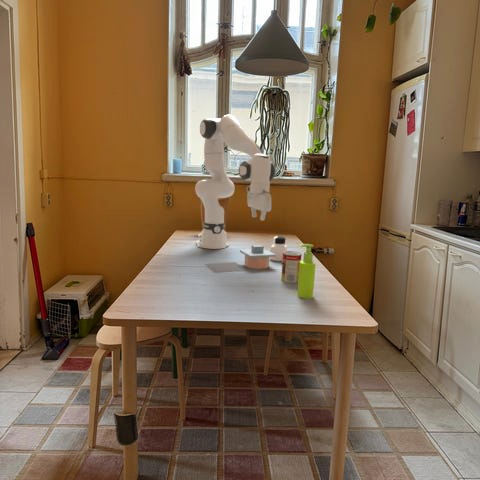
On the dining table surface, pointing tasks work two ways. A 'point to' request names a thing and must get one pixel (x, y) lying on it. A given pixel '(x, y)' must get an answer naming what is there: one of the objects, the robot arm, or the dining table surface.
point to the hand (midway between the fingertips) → (258, 218)
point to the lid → (257, 252)
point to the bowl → (257, 262)
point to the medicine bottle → (278, 248)
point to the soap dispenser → (306, 274)
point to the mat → (225, 267)
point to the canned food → (291, 266)
